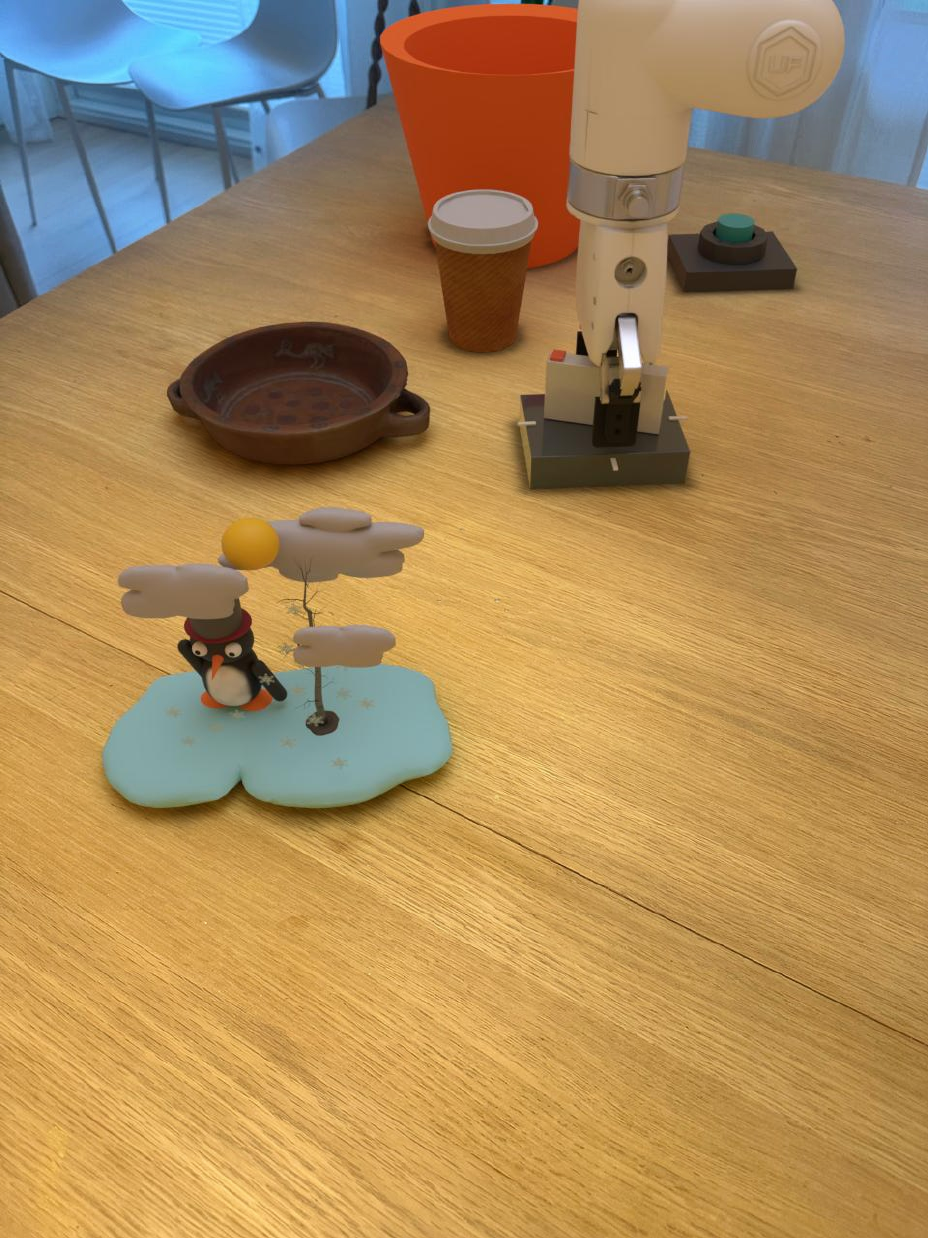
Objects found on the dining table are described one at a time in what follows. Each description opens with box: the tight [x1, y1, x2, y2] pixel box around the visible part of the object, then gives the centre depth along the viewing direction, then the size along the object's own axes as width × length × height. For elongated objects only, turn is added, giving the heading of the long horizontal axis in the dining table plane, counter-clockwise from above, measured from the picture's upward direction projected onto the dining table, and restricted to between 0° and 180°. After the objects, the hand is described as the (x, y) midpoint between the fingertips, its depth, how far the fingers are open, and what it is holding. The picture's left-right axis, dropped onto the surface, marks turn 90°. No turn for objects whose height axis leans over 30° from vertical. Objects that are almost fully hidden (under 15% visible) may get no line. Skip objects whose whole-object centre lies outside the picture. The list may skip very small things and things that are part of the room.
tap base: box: [517, 389, 691, 490], centre depth 83 cm, size 13×13×3 cm
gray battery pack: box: [544, 349, 670, 434], centre depth 80 cm, size 9×2×5 cm, turn 74°
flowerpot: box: [379, 3, 581, 269], centre depth 108 cm, size 25×25×20 cm
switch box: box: [667, 221, 798, 293], centre depth 107 cm, size 11×9×4 cm
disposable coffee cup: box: [427, 190, 538, 353], centre depth 94 cm, size 10×10×12 cm
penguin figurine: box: [101, 506, 454, 809], centre depth 57 cm, size 20×11×15 cm, turn 90°
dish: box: [166, 321, 431, 465], centre depth 86 cm, size 18×22×5 cm
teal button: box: [715, 212, 756, 242], centre depth 105 cm, size 4×4×2 cm
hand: (603, 409), depth 81 cm, fingers open, 9 cm apart
